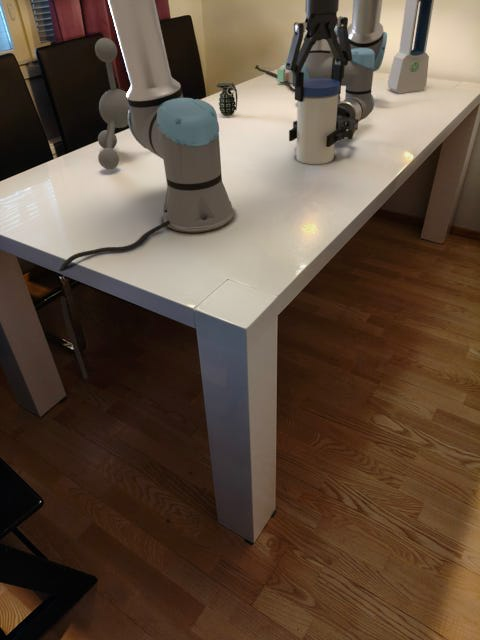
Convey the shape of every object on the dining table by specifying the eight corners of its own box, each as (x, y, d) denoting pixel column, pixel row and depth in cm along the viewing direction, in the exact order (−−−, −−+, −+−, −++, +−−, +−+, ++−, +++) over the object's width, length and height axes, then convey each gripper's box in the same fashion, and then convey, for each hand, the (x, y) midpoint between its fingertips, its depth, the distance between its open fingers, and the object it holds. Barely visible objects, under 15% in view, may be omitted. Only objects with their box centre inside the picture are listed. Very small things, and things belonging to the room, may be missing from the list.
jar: (289, 161, 132) (291, 88, 121) (305, 149, 139) (308, 79, 128) (324, 166, 128) (329, 92, 117) (339, 154, 134) (344, 82, 123)
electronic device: (396, 93, 181) (409, -3, 162) (386, 89, 187) (397, -4, 168) (425, 90, 183) (442, -6, 165) (415, 85, 189) (429, -7, 170)
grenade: (217, 117, 168) (214, 86, 162) (221, 112, 172) (219, 82, 166) (235, 117, 166) (233, 86, 160) (239, 113, 171) (238, 82, 165)
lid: (314, 99, 117) (315, 90, 116) (288, 91, 125) (288, 83, 123) (348, 91, 121) (349, 83, 120) (320, 84, 129) (321, 76, 128)
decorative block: (300, 55, 216) (341, 58, 206) (299, 71, 220) (340, 74, 210) (268, 66, 200) (311, 70, 190) (268, 83, 204) (310, 87, 194)
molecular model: (182, 161, 136) (166, 37, 117) (102, 175, 130) (73, 48, 111) (161, 137, 153) (145, 27, 135) (90, 149, 147) (63, 35, 129)
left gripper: (287, -2, 104) (286, 107, 117) (374, -12, 111) (363, 92, 125) (269, -4, 109) (270, 101, 123) (353, -13, 117) (345, 86, 130)
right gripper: (380, 134, 138) (348, 159, 124) (308, 124, 148) (271, 147, 134) (383, 106, 133) (351, 129, 119) (308, 98, 144) (270, 118, 130)
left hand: (317, 96), depth 124 cm, fingers closed on lid, 11 cm apart
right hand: (308, 138), depth 127 cm, fingers closed on jar, 10 cm apart
